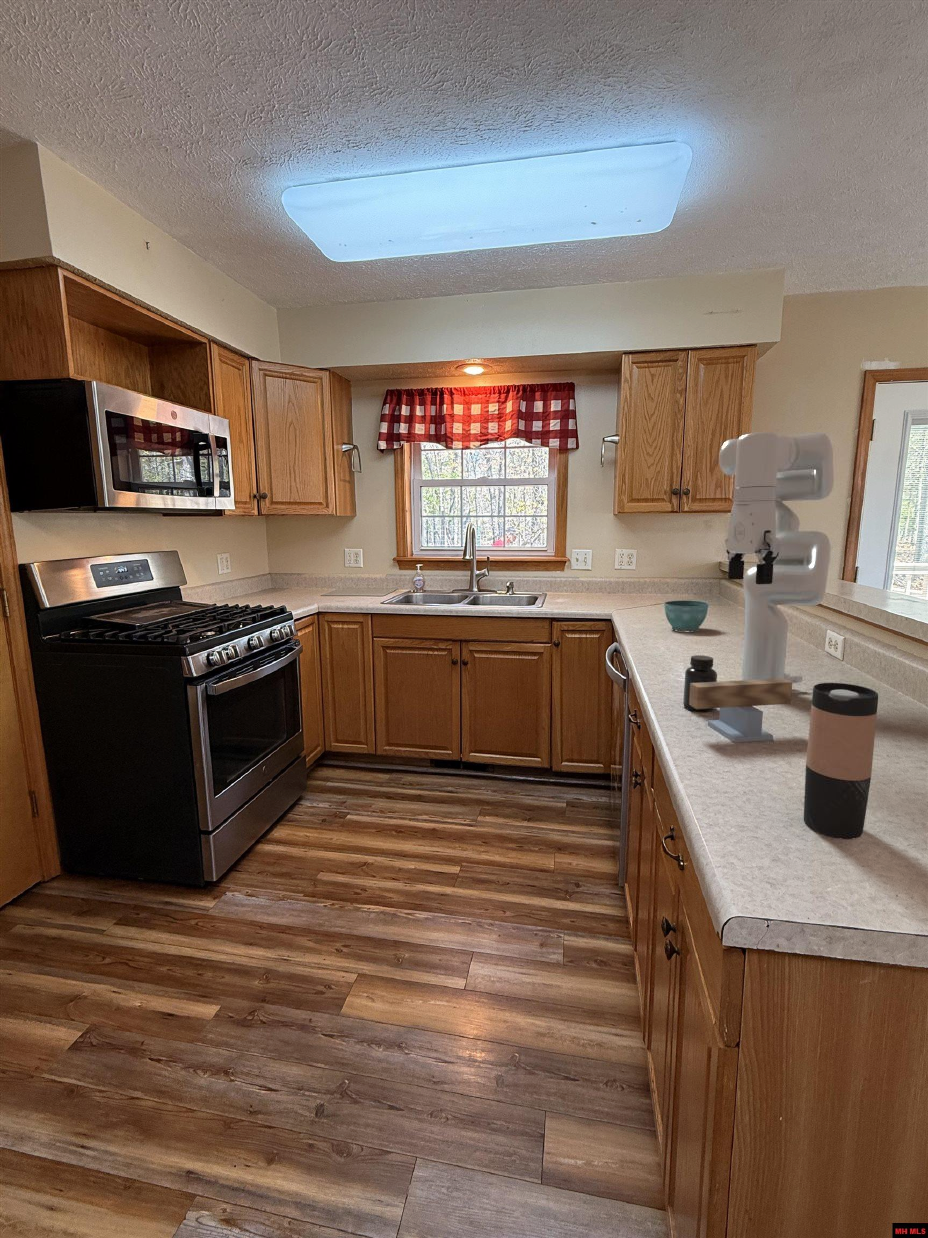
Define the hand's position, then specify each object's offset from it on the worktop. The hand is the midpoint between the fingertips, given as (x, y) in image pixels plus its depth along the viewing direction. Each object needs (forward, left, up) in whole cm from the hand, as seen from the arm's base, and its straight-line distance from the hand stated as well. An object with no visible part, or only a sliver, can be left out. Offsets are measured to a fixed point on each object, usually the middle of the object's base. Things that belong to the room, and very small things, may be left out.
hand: (749, 581), depth 119 cm
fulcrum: (+4, +6, -30) cm, 31 cm away
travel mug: (+12, +42, -31) cm, 53 cm away
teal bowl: (-38, -99, -31) cm, 110 cm away
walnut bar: (+4, +6, -24) cm, 25 cm away
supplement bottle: (+4, -10, -31) cm, 32 cm away
